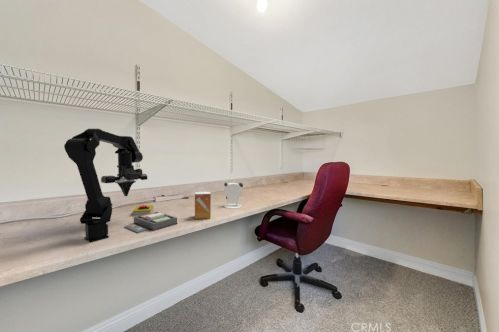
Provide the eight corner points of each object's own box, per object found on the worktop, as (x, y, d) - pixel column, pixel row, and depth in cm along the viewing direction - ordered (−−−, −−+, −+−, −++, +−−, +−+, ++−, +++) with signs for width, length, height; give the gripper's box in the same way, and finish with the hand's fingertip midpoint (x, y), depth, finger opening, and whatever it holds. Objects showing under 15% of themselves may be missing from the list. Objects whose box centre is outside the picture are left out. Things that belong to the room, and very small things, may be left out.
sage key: (157, 226, 99) (157, 221, 99) (152, 224, 101) (152, 220, 101) (171, 222, 104) (171, 218, 104) (166, 220, 107) (166, 216, 106)
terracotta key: (144, 221, 105) (144, 217, 105) (140, 220, 107) (140, 216, 107) (158, 218, 111) (158, 214, 111) (153, 216, 113) (153, 213, 113)
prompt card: (137, 233, 93) (137, 231, 93) (124, 227, 100) (124, 225, 100) (147, 230, 96) (147, 228, 96) (133, 225, 103) (133, 223, 103)
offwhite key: (150, 221, 102) (150, 217, 102) (146, 220, 104) (146, 215, 104) (164, 218, 107) (164, 213, 107) (159, 216, 110) (159, 212, 110)
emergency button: (131, 209, 116) (137, 203, 131) (132, 217, 117) (137, 210, 131) (151, 208, 119) (154, 202, 134) (151, 216, 120) (154, 209, 134)
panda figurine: (241, 204, 148) (241, 181, 147) (243, 208, 137) (244, 184, 136) (223, 204, 146) (223, 181, 145) (224, 208, 135) (224, 184, 134)
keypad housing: (153, 230, 96) (153, 224, 96) (133, 223, 106) (133, 217, 106) (177, 223, 106) (177, 217, 106) (157, 217, 116) (157, 211, 116)
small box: (194, 219, 113) (194, 194, 112) (195, 215, 119) (194, 191, 119) (210, 218, 115) (210, 193, 114) (210, 215, 121) (210, 191, 120)
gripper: (110, 164, 92) (111, 201, 93) (153, 163, 107) (153, 195, 108) (100, 163, 99) (101, 198, 100) (141, 162, 114) (141, 192, 115)
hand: (125, 196), depth 106 cm, fingers closed
